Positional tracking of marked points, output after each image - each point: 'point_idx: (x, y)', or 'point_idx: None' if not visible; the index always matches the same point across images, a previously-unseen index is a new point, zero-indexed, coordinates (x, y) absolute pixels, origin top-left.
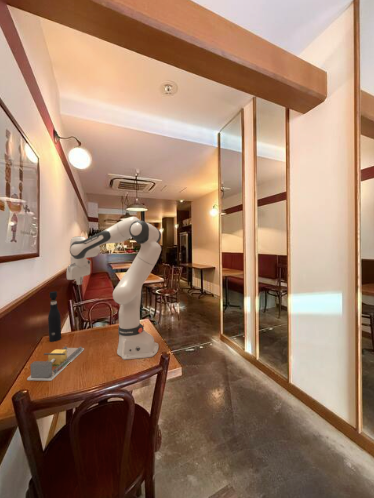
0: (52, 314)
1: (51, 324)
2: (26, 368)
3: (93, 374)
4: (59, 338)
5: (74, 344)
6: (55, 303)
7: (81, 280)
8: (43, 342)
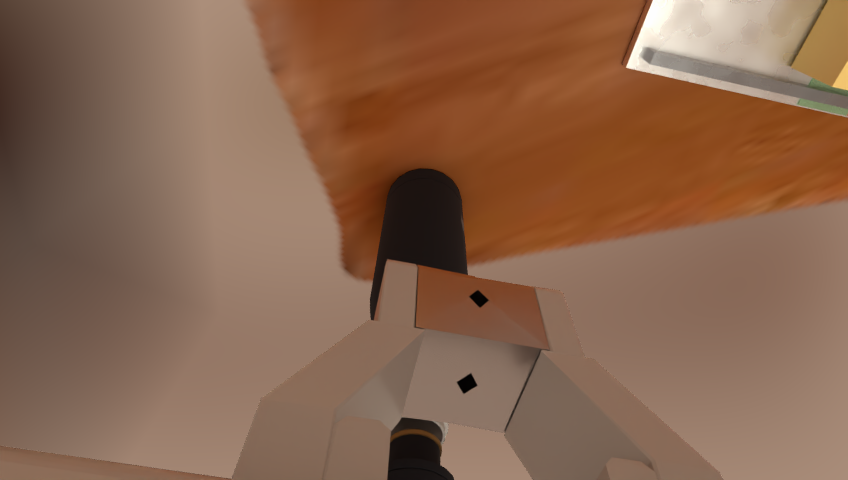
0: None
1: None
2: (782, 199)
3: None
4: (438, 175)
5: (552, 23)
6: None
7: (402, 364)
8: None
